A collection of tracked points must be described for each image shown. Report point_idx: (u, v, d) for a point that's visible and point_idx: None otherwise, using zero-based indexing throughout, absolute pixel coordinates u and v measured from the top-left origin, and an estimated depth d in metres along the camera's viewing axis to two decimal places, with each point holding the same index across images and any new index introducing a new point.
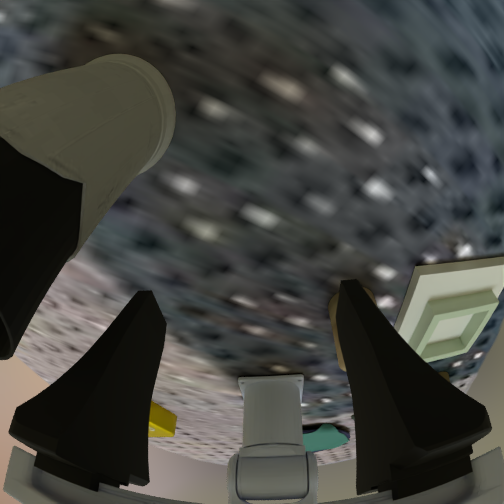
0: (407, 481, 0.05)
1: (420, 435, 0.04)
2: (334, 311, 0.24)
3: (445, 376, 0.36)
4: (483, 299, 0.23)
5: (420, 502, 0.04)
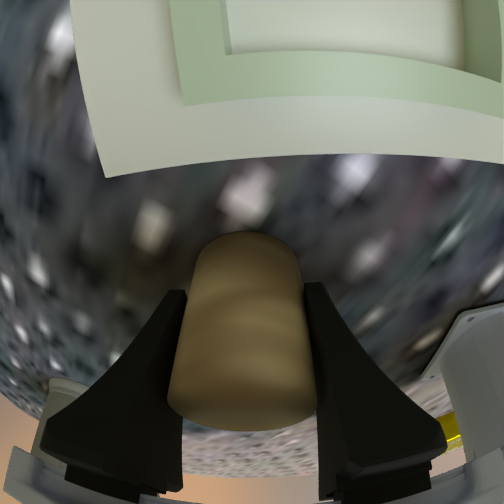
0: (355, 493, 0.05)
1: (358, 450, 0.04)
2: None
3: None
4: None
5: (420, 501, 0.04)
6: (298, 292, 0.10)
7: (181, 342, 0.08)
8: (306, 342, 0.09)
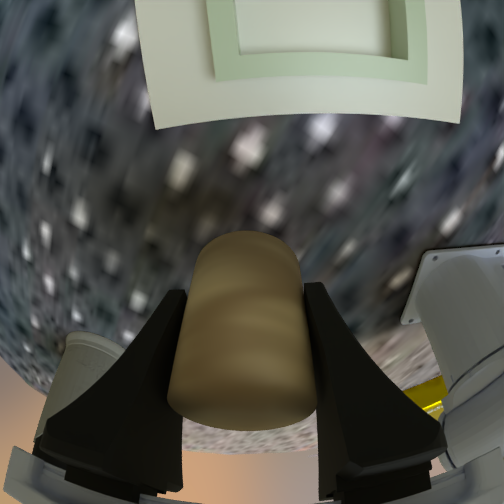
0: (355, 493, 0.05)
1: (358, 450, 0.04)
2: None
3: None
4: None
5: (420, 502, 0.04)
6: (298, 291, 0.10)
7: (181, 341, 0.08)
8: (306, 341, 0.09)
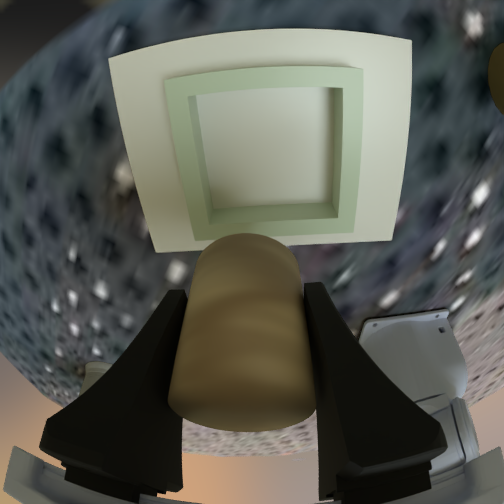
0: (355, 493, 0.05)
1: (358, 450, 0.04)
2: None
3: (499, 58, 0.10)
4: None
5: (420, 502, 0.04)
6: (298, 295, 0.10)
7: (182, 343, 0.08)
8: (306, 345, 0.09)
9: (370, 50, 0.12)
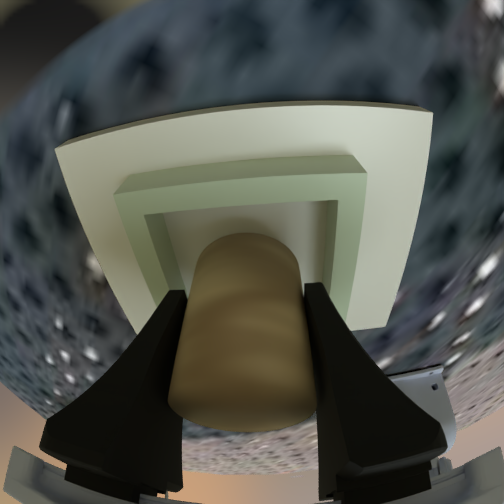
0: (355, 493, 0.05)
1: (358, 450, 0.04)
2: None
3: None
4: None
5: (420, 502, 0.04)
6: (299, 295, 0.10)
7: (182, 342, 0.08)
8: (307, 345, 0.09)
9: (378, 131, 0.10)
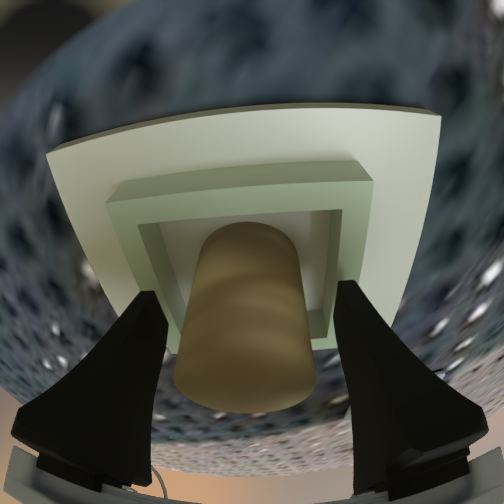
0: (403, 482, 0.05)
1: (416, 437, 0.04)
2: None
3: None
4: None
5: (420, 502, 0.04)
6: (298, 279, 0.11)
7: (188, 322, 0.09)
8: (306, 324, 0.09)
9: (385, 136, 0.09)
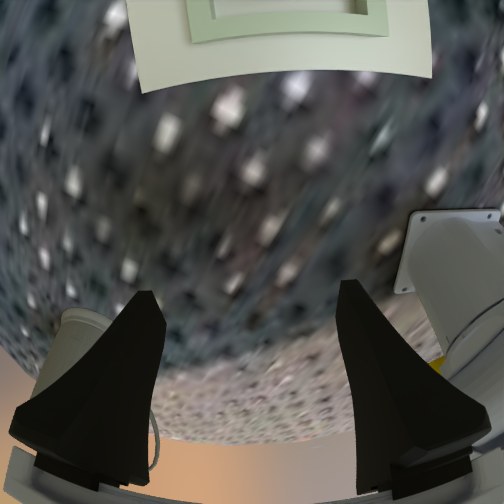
0: (407, 481, 0.05)
1: (420, 436, 0.04)
2: None
3: None
4: None
5: (419, 502, 0.04)
6: None
7: None
8: None
9: None
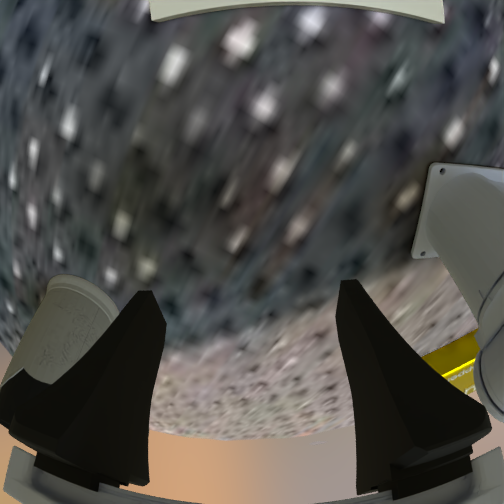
0: (407, 481, 0.05)
1: (420, 435, 0.04)
2: None
3: None
4: None
5: (420, 502, 0.04)
6: None
7: None
8: None
9: None
